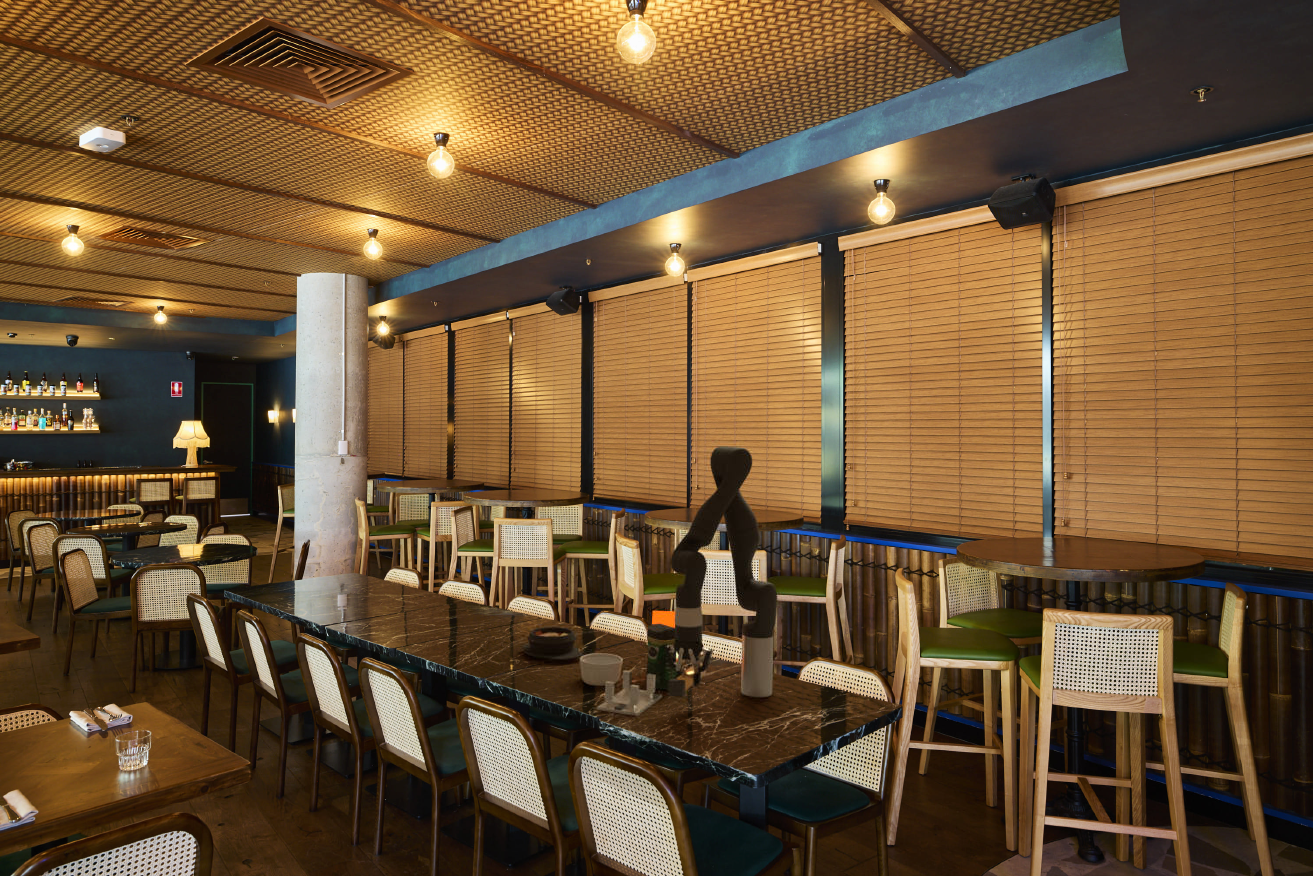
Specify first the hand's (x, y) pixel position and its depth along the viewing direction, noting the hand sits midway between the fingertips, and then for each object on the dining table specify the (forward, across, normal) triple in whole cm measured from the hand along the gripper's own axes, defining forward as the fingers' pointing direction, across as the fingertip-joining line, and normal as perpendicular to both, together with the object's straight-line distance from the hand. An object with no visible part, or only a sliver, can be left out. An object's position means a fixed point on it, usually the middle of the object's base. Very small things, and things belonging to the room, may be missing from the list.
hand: (688, 684), depth 217 cm
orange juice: (+8, +19, -31) cm, 37 cm away
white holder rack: (+7, +17, +1) cm, 19 cm away
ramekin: (+8, +34, -15) cm, 38 cm away
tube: (0, 0, 0) cm, 0 cm away
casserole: (+8, +62, -34) cm, 71 cm away
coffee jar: (+8, +15, -18) cm, 25 cm away
